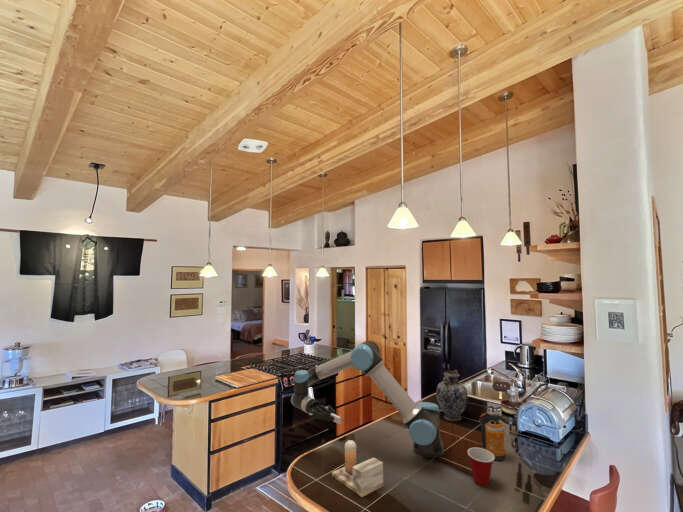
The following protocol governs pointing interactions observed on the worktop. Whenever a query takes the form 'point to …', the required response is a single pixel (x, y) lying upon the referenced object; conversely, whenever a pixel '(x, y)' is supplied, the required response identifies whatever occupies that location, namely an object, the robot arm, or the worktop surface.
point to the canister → (493, 435)
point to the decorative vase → (451, 396)
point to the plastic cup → (481, 465)
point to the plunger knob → (350, 456)
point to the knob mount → (362, 477)
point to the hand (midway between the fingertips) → (339, 420)
